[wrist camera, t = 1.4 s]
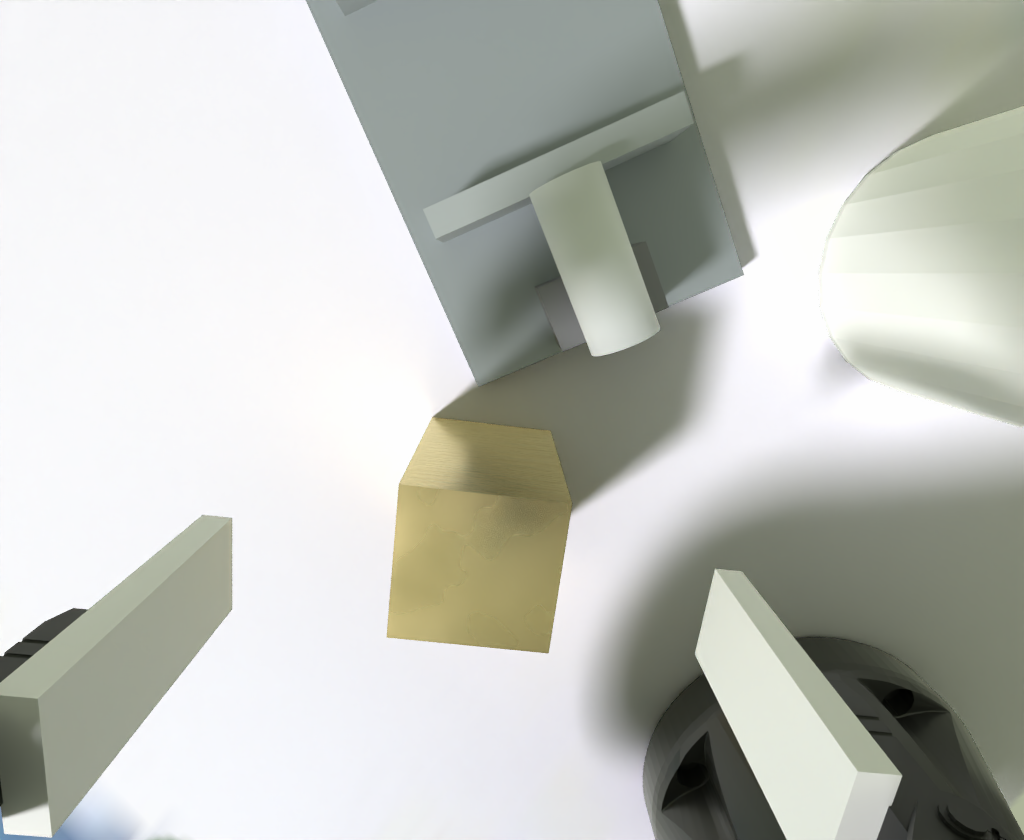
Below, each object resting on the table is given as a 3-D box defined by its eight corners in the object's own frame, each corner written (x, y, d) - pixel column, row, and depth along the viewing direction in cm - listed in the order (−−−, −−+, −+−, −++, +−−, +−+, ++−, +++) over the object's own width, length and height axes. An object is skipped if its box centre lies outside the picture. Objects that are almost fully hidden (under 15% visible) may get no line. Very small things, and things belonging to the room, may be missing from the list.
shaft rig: (733, 274, 23) (801, 275, 18) (479, 382, 24) (472, 412, 19) (542, -328, 18) (557, -568, 13) (235, -166, 19) (135, -330, 14)
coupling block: (534, 538, 26) (548, 653, 18) (422, 526, 25) (386, 637, 18) (550, 430, 24) (572, 503, 17) (432, 416, 24) (398, 484, 16)
